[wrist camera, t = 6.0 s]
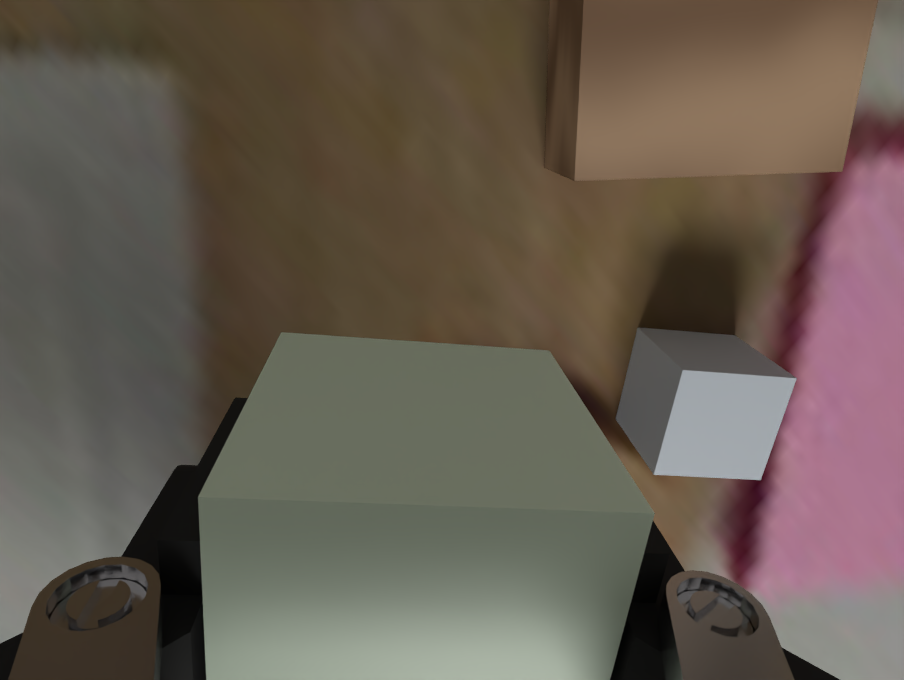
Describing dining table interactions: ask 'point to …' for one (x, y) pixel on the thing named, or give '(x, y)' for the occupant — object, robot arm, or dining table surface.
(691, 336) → the slate block
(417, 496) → the sage block
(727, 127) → the walnut base block
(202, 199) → the dining table surface
